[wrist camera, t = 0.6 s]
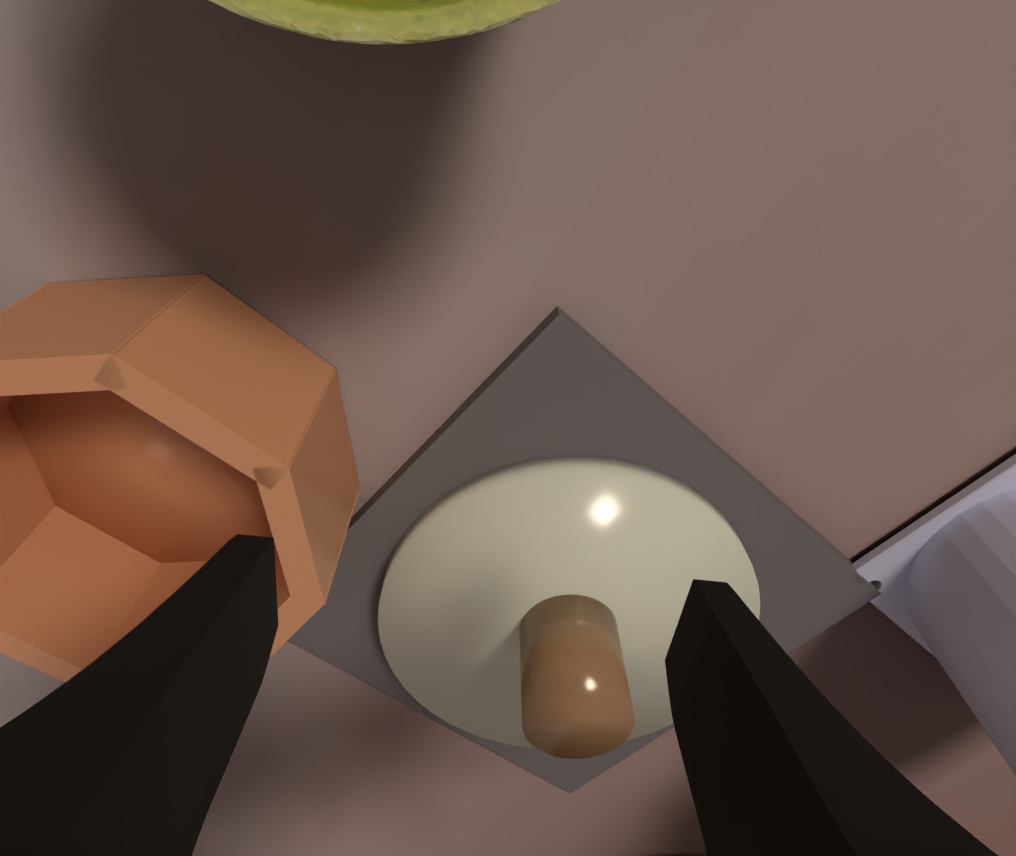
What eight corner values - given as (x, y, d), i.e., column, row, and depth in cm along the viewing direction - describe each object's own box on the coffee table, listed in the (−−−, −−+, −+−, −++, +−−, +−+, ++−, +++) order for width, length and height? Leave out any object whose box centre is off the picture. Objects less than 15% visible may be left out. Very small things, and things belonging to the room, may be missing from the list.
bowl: (418, 427, 21) (396, 535, 16) (242, 611, 25) (186, 739, 20) (97, 196, 17) (-37, 257, 13) (-51, 452, 21) (-192, 564, 17)
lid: (826, 595, 24) (890, 710, 20) (569, 767, 28) (580, 886, 24) (560, 376, 19) (574, 467, 15) (309, 620, 24) (272, 737, 20)
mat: (873, 581, 24) (881, 593, 24) (568, 779, 30) (569, 793, 29) (557, 306, 19) (559, 314, 18) (261, 610, 25) (256, 623, 24)
